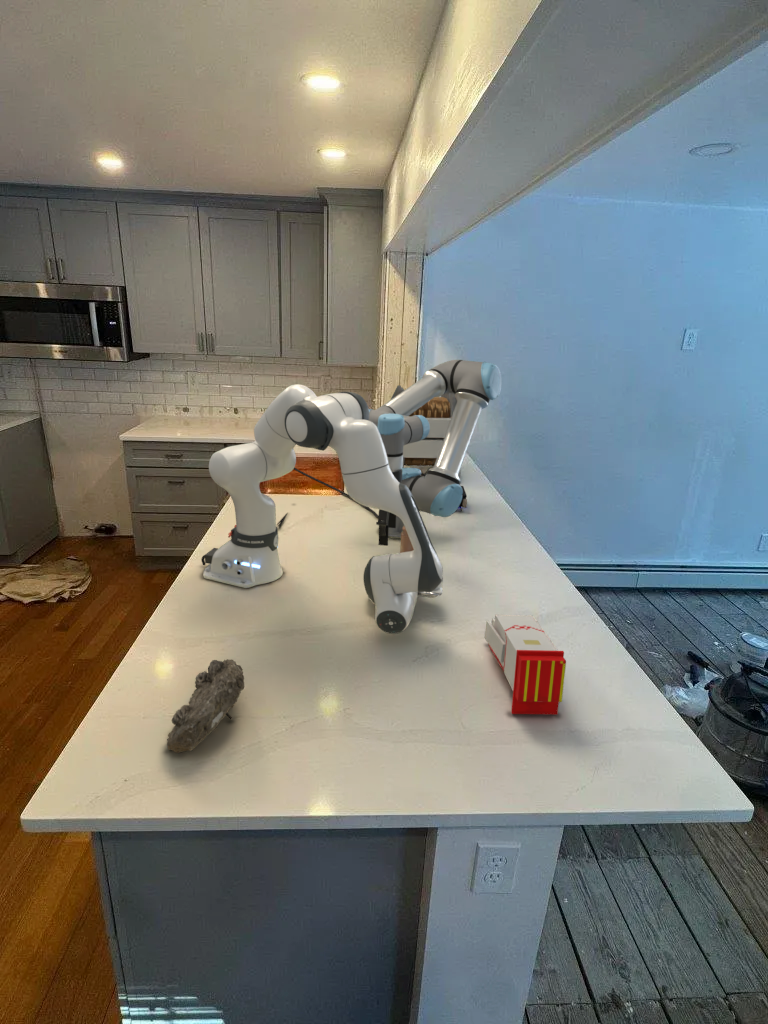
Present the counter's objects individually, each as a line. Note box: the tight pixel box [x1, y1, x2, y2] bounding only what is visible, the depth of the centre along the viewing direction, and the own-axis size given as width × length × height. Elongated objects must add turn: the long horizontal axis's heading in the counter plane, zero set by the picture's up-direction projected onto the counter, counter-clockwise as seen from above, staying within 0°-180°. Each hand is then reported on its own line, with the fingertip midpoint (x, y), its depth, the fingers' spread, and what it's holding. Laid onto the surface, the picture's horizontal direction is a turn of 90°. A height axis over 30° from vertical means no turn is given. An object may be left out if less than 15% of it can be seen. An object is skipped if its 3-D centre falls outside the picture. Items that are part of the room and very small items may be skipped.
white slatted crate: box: [390, 384, 462, 480], centre depth 268 cm, size 34×33×41 cm
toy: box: [484, 614, 567, 716], centre depth 124 cm, size 12×13×30 cm
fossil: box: [166, 658, 245, 754], centre depth 106 cm, size 22×10×15 cm
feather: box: [276, 513, 288, 529], centre depth 211 cm, size 2×28×2 cm
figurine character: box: [457, 485, 468, 512], centre depth 228 cm, size 7×8×15 cm
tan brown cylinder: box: [399, 526, 414, 553], centre depth 156 cm, size 5×5×19 cm
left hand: (408, 568), depth 158 cm, fingers closed on tan brown cylinder, 5 cm apart
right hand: (387, 535), depth 171 cm, fingers open, 13 cm apart
